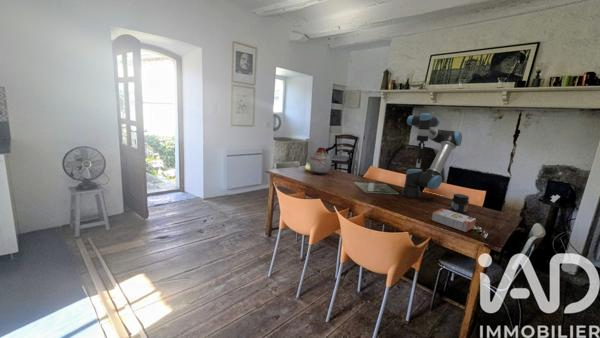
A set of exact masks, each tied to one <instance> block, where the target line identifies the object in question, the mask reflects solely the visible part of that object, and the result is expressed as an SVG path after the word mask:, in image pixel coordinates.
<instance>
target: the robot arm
mask: <svg viewBox="0 0 600 338" xmlns="http://www.w3.org/2000/svg"><path fill="white" fill-rule="evenodd" d="M406 123H407V125H408V126H411V127H412V126H413V127H415V128H416V129H417V130H416V132H417V134H416V141H419V142H418V146H417V149H418V150H417V155H416V163H415V168H408V169H407V170H406V174H405V181H404V187H403V188H402V189H401V193H400V195H401V196H403V197H406V198H409V199H420V198H421V190H420V187H422V188H426V189H429V190H437V189H439V188H440V186H441V185H442V181H443V177H442V174H441V172H442V171H443V169H444V167H445V165H446V163H447V161H448V159H449V158H450V155H451V154H452V152H453V150H455V149H456V148H457V147H460V146H461V145H462V142H463V141H462V140H463V134H462V132H461V131H459V130H458V131H457V130H447V129H438V128H437V127H438V126H439V125H440V123H441V121H440V118H439V117H438V116H433V115H432V113H426V112H425V113H424V112H423V113H420V115H409V116H408V117H407V119H406ZM429 140H431V142H435V143H436V144H439V145H440V147H439V150H438V151H437V153H436V156H435V157H434V159H433V161H432V163H431V165H430V167H429V168H427V169H426V171H425V172H424V171H423V169H421V163H422V159H423V153H424V149H425V145H426V144H425V142H428V141H429Z"/></svg>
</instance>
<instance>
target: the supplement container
mask: <svg viewBox="0 0 600 338" xmlns="http://www.w3.org/2000/svg"><path fill="white" fill-rule="evenodd" d="M469 199H470V196H468V195H466V194H461V193H454V194H453V197H452V199H451V204H450V211H453V212H456V213H459V214H462V215H465V214H467V211H468V208H469V203H470V201H469Z"/></svg>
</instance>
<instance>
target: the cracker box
mask: <svg viewBox="0 0 600 338" xmlns="http://www.w3.org/2000/svg"><path fill="white" fill-rule="evenodd" d="M431 214H432V215H431V221H433V222H435V223H439V224H441V225H444V226H448V227H450V228H452V229H456V230H458V231H461V232H464V233H467V232H468V231H470V230H473V229H472V228H473V227H474V226H476V221H477V218H475V217H472V216H469V215H465V214H461V213H456V212H453V211H452V210H449V209H445V208H440V209H437V210H435V211H433V212H432V213H431Z"/></svg>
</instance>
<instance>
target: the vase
mask: <svg viewBox="0 0 600 338" xmlns="http://www.w3.org/2000/svg"><path fill="white" fill-rule="evenodd" d="M331 167H332V157H331V155H329V153H328V152H327V151H326V147H318V148H317V150H316V151H315V152H314V153H312V155H311V156H310V157H309V168H310V170H311V171H312V173H313V174H315V175H317V176H319V175H320V176H324V175H326V174H327V173H329V171H330V169H331Z"/></svg>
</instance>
